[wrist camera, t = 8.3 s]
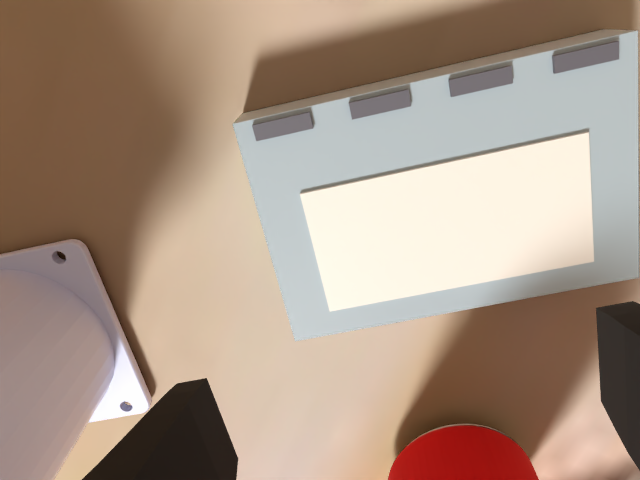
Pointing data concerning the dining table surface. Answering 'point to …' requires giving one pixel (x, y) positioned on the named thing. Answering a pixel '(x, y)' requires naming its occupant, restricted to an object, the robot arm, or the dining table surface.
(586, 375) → the dining table surface
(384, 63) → the dining table surface
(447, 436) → the beverage can
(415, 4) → the dining table surface
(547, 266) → the pad
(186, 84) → the dining table surface
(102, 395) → the robot arm
